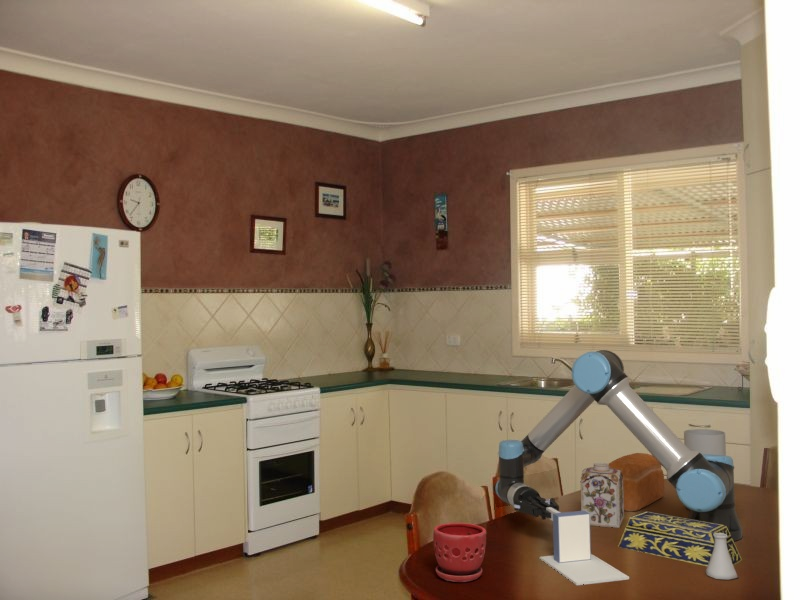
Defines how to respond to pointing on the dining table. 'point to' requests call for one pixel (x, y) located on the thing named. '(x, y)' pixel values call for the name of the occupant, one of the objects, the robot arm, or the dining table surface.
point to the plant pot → (459, 551)
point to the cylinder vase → (705, 441)
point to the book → (571, 536)
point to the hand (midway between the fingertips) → (558, 518)
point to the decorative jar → (603, 495)
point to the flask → (720, 560)
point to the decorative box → (675, 537)
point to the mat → (586, 570)
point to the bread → (640, 480)
